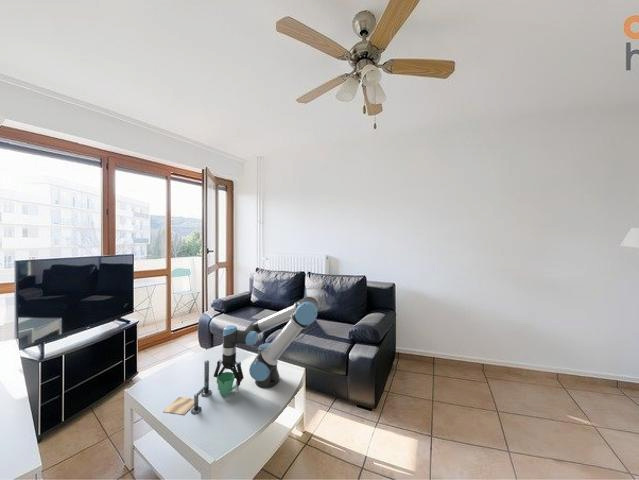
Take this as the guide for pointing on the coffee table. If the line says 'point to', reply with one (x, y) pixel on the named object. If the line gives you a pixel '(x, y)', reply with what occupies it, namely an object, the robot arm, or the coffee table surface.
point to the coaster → (180, 406)
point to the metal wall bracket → (205, 388)
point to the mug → (226, 383)
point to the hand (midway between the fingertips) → (228, 389)
